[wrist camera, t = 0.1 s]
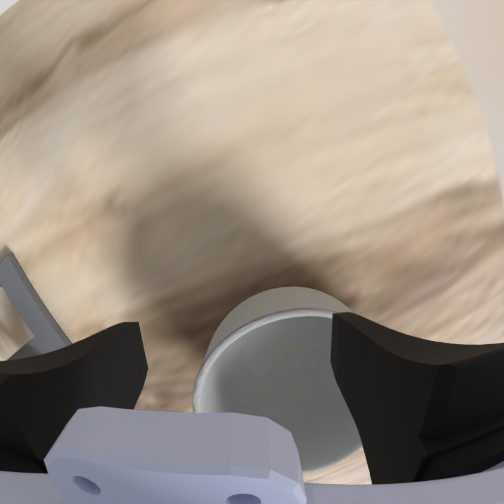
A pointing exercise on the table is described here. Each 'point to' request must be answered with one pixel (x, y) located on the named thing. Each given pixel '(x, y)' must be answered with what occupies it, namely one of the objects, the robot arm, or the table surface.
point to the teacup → (281, 372)
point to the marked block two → (11, 328)
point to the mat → (30, 311)
